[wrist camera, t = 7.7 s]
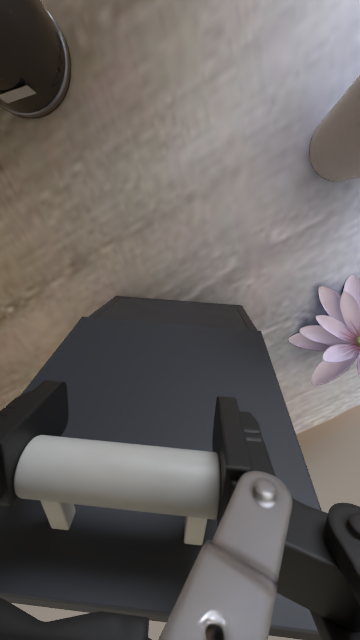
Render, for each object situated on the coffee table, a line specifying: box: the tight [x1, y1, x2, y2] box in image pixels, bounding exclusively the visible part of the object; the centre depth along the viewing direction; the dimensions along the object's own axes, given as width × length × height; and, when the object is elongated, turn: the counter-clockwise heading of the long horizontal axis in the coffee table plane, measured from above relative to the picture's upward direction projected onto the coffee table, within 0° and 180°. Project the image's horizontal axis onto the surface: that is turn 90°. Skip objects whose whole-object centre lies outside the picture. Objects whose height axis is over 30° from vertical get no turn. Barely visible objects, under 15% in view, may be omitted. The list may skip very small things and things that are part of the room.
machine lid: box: [0, 317, 321, 640], centre depth 15 cm, size 17×16×5 cm
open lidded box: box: [89, 296, 257, 331], centre depth 31 cm, size 17×16×10 cm
